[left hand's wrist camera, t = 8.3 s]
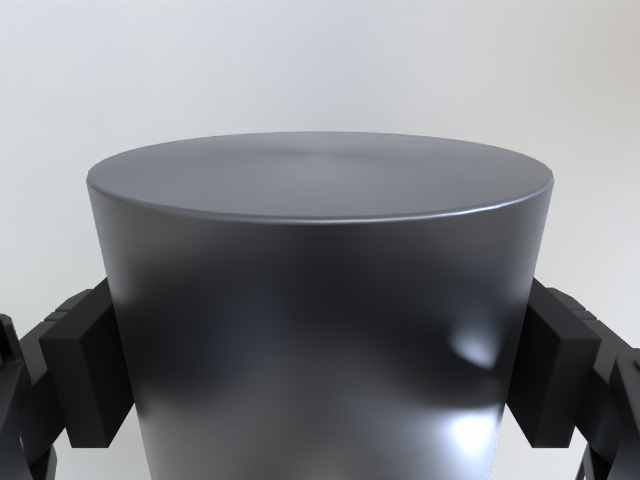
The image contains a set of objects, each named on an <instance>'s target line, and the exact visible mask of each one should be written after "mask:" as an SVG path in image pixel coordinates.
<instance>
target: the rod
mask: <svg viewBox="0 0 640 480" xmlns="http://www.w3.org/2000/svg"><path fill="white" fill-rule="evenodd" d="M86 183H87V187H88V192H89V196H90V201H91V205H92V210H93V215H94V219H95V224H96V228H97V233H98V237H99V242H100V246H101V251H102V256H103V260H104V265H105V269H106V274H107V278H108V283H109V287H110V292H111V297H112V301H113V306H114V310H115V315H116V319H117V324H118V328H119V333H120V337H121V342H122V347H123V351H124V356H125V360H126V365H127V369H128V374H129V378H130V383H131V388H132V392H133V397H134V401H135V406H136V410H137V415H138V419H139V424H140V429H141V433H142V438H143V442H144V447H145V451H146V456H147V460H148V465H149V470H150V474H151V479H152V480H489V476H490V471H491V467H492V462H493V457H494V453H495V448H496V444H497V439H498V435H499V430H500V426H501V421H502V417H503V412H504V407H505V403H506V398H507V394H508V389H509V385H510V380H511V376H512V371H513V367H514V362H515V357H516V353H517V348H518V344H519V339H520V335H521V330H522V326H523V321H524V317H525V312H526V307H527V303H528V298H529V294H530V289H531V285H532V280H533V276H534V271H535V267H536V262H537V257H538V253H539V248H540V244H541V239H542V235H543V230H544V226H545V221H546V217H547V212H548V207H549V203H550V198H551V194H552V189H553V185H554V178H553V174H552V171H551V170H550V169H549V168H548V167H547V166H546V165H545V164H543V163H541V162H539V161H538V160H536V159H534V158H531V157H529V156H526V155H524V154H521V153H517V152H514V151H511V150H507V149H503V148H499V147H494V146H489V145H484V144H479V143H473V142H467V141H460V140H453V139H445V138H436V137H427V136H415V135H402V134H387V133H365V132H276V133H254V134H238V135H225V136H214V137H204V138H195V139H188V140H180V141H173V142H167V143H161V144H156V145H151V146H146V147H142V148H137V149H133V150H130V151H126V152H123V153H120V154H117V155H114V156H112V157H109V158H107V159H105V160H103V161H101V162H99V163H97V164H96V165H94V166H93V167H92V168H91V169H90V170H89V172H88V176H87V180H86Z"/></svg>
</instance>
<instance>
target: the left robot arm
mask: <svg viewBox="0 0 640 480" xmlns="http://www.w3.org/2000/svg"><path fill="white" fill-rule="evenodd" d="M134 403H135V401H134V397H133V392H132V388H131V383H130V378H129V374H128V369H127V365H126V360H125V356H124V351H123V347H122V342H121V337H120V333H119V328H118V324H117V319H116V315H115V310H114V306H113V301H112V297H111V292H110V287H109V283H108V278H107V277H106V278H105V279H104V280H103V281H102V282H101V283H99V284H98V285H97V286H96V287H95V288H94V289H86V290H84V291H82V292H81V293H79V294H77V295H75V296H73V297H71V298H69V299H67V300H66V301H65V302H64V303H63V304H62V305H60V306H59V307H58V308H57V309H56V310H55V312H52V313H51V314H50V315H49V316H47V317H46V318H45V319H44V322H40V323H39V324H38V325H37V326H36V327H34V328H33V329H32V330H31V331H30V332H29V333H27V334H26V335H25V336H24V337H23V338H21V339H20V340H18V337H17V334H16V331H15V328H14V325H13V322H12V319H11V317H9V316H7V315H5V314H0V480H54V479H55V472H56V465H57V457H56V451H55V448H54V445H53V443H54V442H55V440H56V439H57V438H58V436H59V435H60V433H61V432H62V431H63V429H64V428H65V427H66V431H67V434H68V437H69V440H70V444H71V447H72V448H108V447H109V445H110V444H111V442H112V440H113V439H114V437H115V435H116V433H117V432H118V430H119V428H120V427H121V425H122V423H123V421H124V420H125V418H126V416H127V415H128V413H129V411H130V409H131V408H132V406H133V404H134ZM506 404H507V406H508V407H509V409H510V411H511V412H512V414H513V416H514V418H515V419H516V421H517V423H518V424H519V426H520V428H521V430H522V431H523V433H524V435H525V436H526V438H527V440H528V442H529V443H530V445H531V447H532V448H569V445H570V441H571V438H572V435H573V432H574V428H575V426H576V427H577V428H578V430H579V431H580V432H581V434H582V435H583V436H584V438H585V439H586V440H587V445H586V448H585V451H584V454H583V457H582V460H581V464H580V467H579V470H578V473H577V476H576V479H575V480H585V479H586V480H640V349H639V348H632V347H631V346H630V345H628V344H627V343H626V342H625V341H624V340H622V339H621V338H620V337H619V336H618V335H616V334H615V333H614V332H613V331H612V330H611V329H609V328H608V327H607V326H606V325H605V324H603V323H602V322H601V321H600V320H597V318H596V317H595V316H594V315H593V314H592V313H590V312H589V311H586V308H584V307H583V306H582V305H581V304H580V303H578V302H577V301H576V300H575V299H574V298H573V297H571V296H569V295H567V294H565V293H563V292H561V291H559V290H557V289H555V288H545V287H544V286H543V285H542V284H541V283H540V282H539V281H537V280H536V279H535V278H534V277H533V280H532V285H531V289H530V294H529V298H528V303H527V307H526V312H525V317H524V321H523V326H522V330H521V335H520V339H519V344H518V348H517V353H516V357H515V362H514V367H513V371H512V376H511V380H510V385H509V389H508V394H507V398H506Z"/></svg>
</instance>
